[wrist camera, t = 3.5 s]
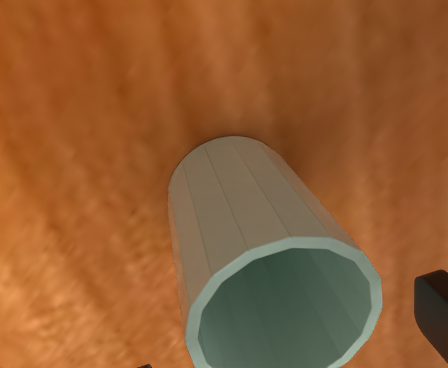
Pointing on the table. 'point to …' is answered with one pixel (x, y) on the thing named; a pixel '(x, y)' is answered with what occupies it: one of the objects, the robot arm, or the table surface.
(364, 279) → the cup
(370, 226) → the table surface
